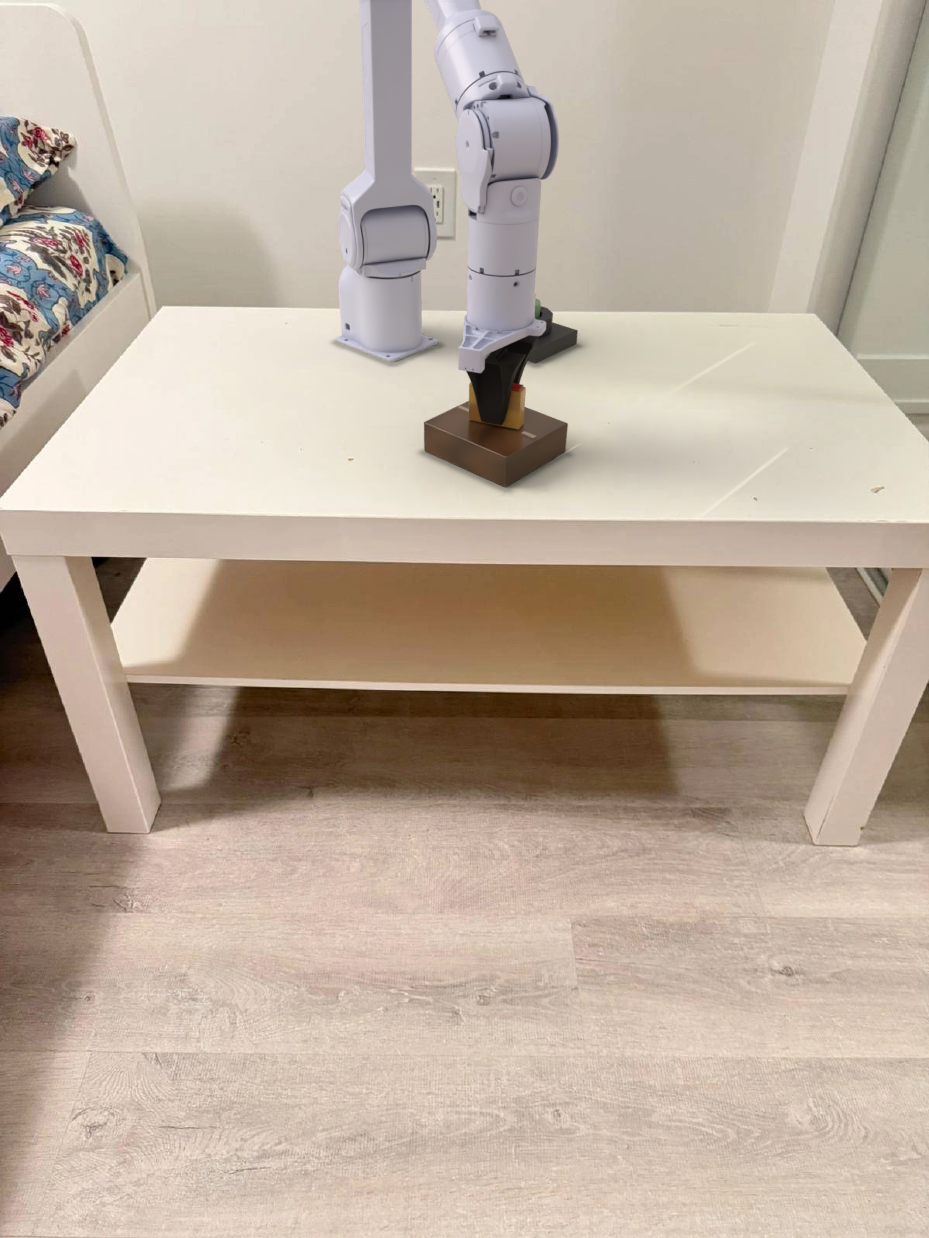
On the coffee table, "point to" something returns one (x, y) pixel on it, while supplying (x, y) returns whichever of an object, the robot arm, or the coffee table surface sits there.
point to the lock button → (537, 308)
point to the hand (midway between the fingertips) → (495, 417)
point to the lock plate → (495, 443)
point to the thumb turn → (514, 409)
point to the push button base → (552, 338)
